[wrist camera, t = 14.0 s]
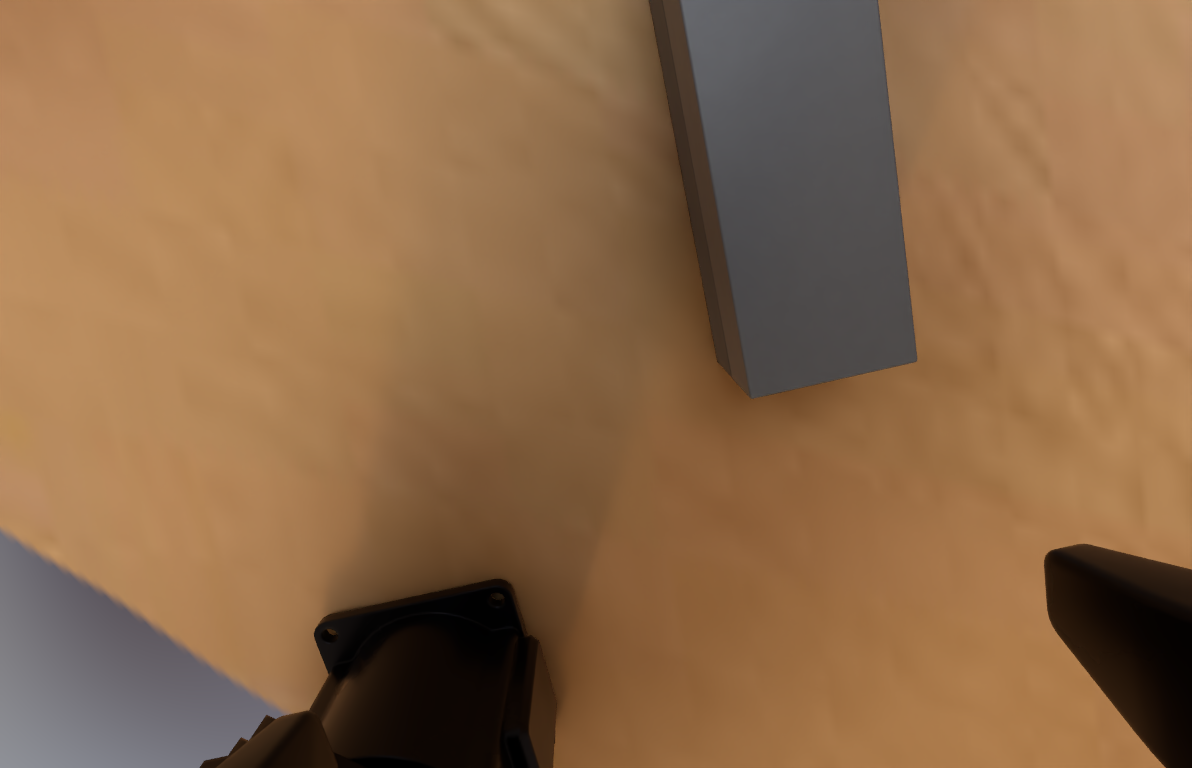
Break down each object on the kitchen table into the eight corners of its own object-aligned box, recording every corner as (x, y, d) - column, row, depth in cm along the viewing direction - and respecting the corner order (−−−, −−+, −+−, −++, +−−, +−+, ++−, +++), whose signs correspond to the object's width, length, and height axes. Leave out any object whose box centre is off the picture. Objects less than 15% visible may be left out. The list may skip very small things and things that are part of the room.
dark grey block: (715, 363, 19) (748, 400, 15) (636, -51, 16) (652, -134, 13) (852, 332, 19) (921, 361, 15) (795, -92, 16) (861, -189, 12)
